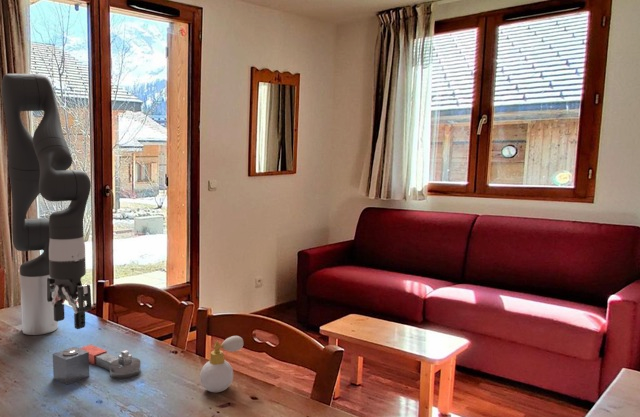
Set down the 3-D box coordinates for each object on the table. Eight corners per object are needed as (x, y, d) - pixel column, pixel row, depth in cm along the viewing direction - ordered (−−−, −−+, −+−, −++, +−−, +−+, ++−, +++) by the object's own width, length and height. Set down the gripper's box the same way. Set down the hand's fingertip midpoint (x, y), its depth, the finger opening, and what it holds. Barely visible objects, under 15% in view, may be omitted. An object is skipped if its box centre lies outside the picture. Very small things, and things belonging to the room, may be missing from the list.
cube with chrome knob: (53, 378, 120) (52, 352, 120) (75, 369, 125) (75, 345, 124) (66, 384, 117) (66, 358, 117) (89, 376, 122) (88, 350, 121)
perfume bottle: (193, 390, 116) (193, 340, 115) (224, 375, 124) (224, 328, 123) (216, 400, 112) (216, 348, 111) (246, 384, 120) (247, 335, 119)
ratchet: (71, 360, 131) (71, 339, 130) (96, 351, 137) (96, 331, 136) (121, 382, 120) (121, 359, 119) (146, 371, 125) (146, 350, 125)
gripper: (34, 254, 118) (37, 322, 120) (69, 263, 111) (71, 335, 113) (65, 250, 125) (67, 314, 127) (100, 258, 117) (102, 326, 119)
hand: (69, 324), depth 120 cm, fingers open, 8 cm apart
